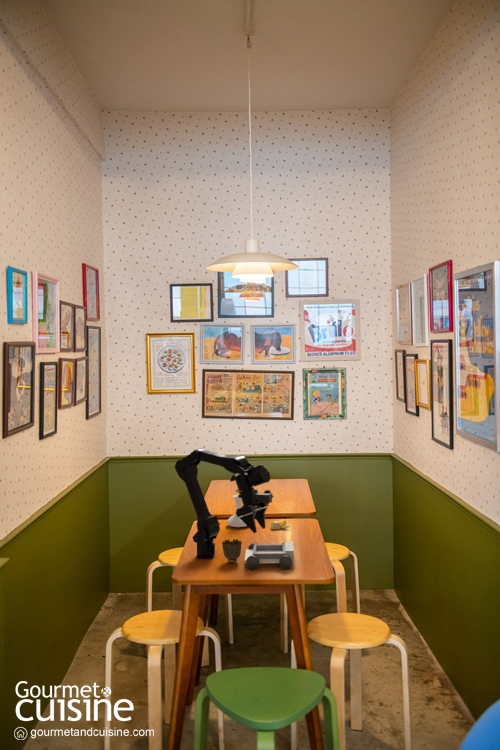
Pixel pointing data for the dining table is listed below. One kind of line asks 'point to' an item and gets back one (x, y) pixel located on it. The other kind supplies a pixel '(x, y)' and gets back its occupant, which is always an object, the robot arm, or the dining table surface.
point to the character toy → (278, 525)
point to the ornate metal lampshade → (232, 550)
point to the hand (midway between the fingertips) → (259, 530)
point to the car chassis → (270, 555)
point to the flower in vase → (235, 520)
